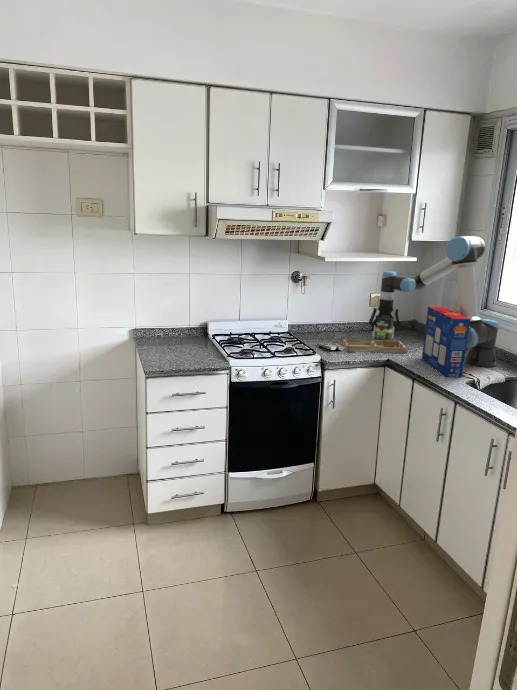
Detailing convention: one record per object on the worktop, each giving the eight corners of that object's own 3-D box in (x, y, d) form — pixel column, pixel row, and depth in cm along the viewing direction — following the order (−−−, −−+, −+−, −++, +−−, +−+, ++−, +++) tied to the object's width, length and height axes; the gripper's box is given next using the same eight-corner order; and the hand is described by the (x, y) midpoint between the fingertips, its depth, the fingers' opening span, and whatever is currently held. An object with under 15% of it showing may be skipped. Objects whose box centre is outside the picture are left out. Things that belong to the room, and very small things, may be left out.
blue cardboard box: (461, 377, 243) (470, 319, 235) (445, 377, 242) (453, 318, 235) (436, 359, 270) (443, 307, 262) (421, 359, 269) (428, 306, 261)
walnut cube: (393, 350, 282) (394, 342, 281) (385, 349, 282) (386, 341, 281) (391, 347, 286) (392, 339, 285) (383, 347, 286) (384, 339, 285)
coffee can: (388, 343, 292) (391, 319, 288) (371, 340, 296) (373, 316, 293) (393, 340, 301) (396, 316, 297) (375, 337, 305) (378, 313, 301)
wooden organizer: (406, 354, 277) (407, 348, 276) (347, 352, 276) (347, 346, 275) (398, 346, 292) (399, 340, 291) (342, 344, 292) (342, 338, 291)
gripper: (404, 298, 296) (400, 336, 302) (365, 296, 296) (361, 334, 301) (408, 300, 288) (404, 339, 294) (368, 299, 288) (364, 337, 294)
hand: (382, 337), depth 298 cm, fingers closed on coffee can, 10 cm apart
